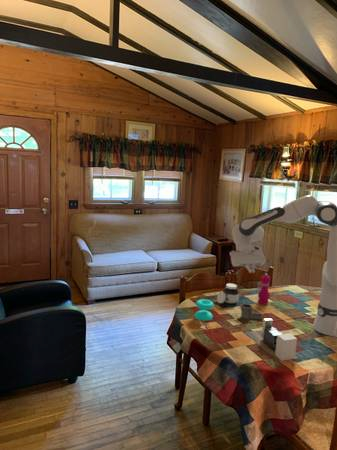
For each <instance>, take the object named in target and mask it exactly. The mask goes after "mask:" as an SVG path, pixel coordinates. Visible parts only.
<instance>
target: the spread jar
mask: <svg viewBox="0 0 337 450" xmlns="http://www.w3.org/2000/svg"><path fill="white" fill-rule="evenodd" d="M237 287H238V285H237V284H235V283H226V285H225V287H223V290H222V292H219V293H218V294H217V296H216V301H217V303H218V304H227V305H231V306H232V305H236V304H237V303H238V301H239V299H240V291H239V289H238V288H237Z"/></svg>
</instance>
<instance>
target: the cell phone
mask: <svg viewBox="0 0 337 450" xmlns="http://www.w3.org/2000/svg"><path fill="white" fill-rule="evenodd" d="M199 329H201V330H205V331H210V330H209V328H208V327H207V326H206V324H205V323H202V324H201V326H200V327H199Z"/></svg>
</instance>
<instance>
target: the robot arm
mask: <svg viewBox="0 0 337 450" xmlns="http://www.w3.org/2000/svg"><path fill="white" fill-rule="evenodd" d="M310 216H315V217H316V218H317V219H318V221H319V222H321V223H322V224H324V225H326V226H329V236H328V242H327V249H326V261H324V264H323V266H322V271H321V272H322V276H321V288H320V289H321V290H320V297H319V302H318V304H317V312H316V316H315V320H314V321H313V324H312V328H313V329H314V331H316V332H318V333H320V334H323V335H326V336H331V337H334V338H337V205H336V204H335V203H333V202H331V201H327V200H324V201H322V200H317V198H315V197H314V196H313V195H311V194H308V195H304V196H301V197H299V198H296V199H294V200H292V201H290V202H288V203H286V204H283V205H280V206H278V207H277V206H276V207H273V208H271V209H268V210H266V211H263V212H261V213H259V214H257V215H253V216H249V217H248V216H247V217H245V218H243V219H242V220H241V221H240V222H239V223H238V224H236V225H234V226H233V227H232V230H231V234H232V235H231V236H232V239H233V242H234V244H235V249H236V250H231V251H229V256H230V261H231V262H230V263H231V265H232V267H244V268H245V269H246V270H248V273H251V274H252V273H254V274H255V272H256V270H255V268H256V266H263V265H265V264H266V262H267V260H266V257H265V254H264V253H263V252H262V248H261V247H260V246H256V245H254V243H257V242H259V241H261V240H263V238H264V237H265V229H264V228H263V226H264V225H266V224H269V223H271V222H275V221H276V222H283V223H286V224H294V223H297V222H299V221H302V220H303V219H305V218H307V217H310ZM252 243H253V244H252Z"/></svg>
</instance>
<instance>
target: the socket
mask: <svg viewBox="0 0 337 450" xmlns="http://www.w3.org/2000/svg"><path fill="white" fill-rule="evenodd" d="M297 343H298V338H297V337H296V336H295V335H293V334H292V333H282V334H281V335H277V343H276V351H275V355H276V356H277V357H278V358H279V359H280V360H281V361H280V362H283V361H288V360H289V359H290V360H296V359H295V354H296V351H297ZM282 360H283V361H282Z"/></svg>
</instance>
